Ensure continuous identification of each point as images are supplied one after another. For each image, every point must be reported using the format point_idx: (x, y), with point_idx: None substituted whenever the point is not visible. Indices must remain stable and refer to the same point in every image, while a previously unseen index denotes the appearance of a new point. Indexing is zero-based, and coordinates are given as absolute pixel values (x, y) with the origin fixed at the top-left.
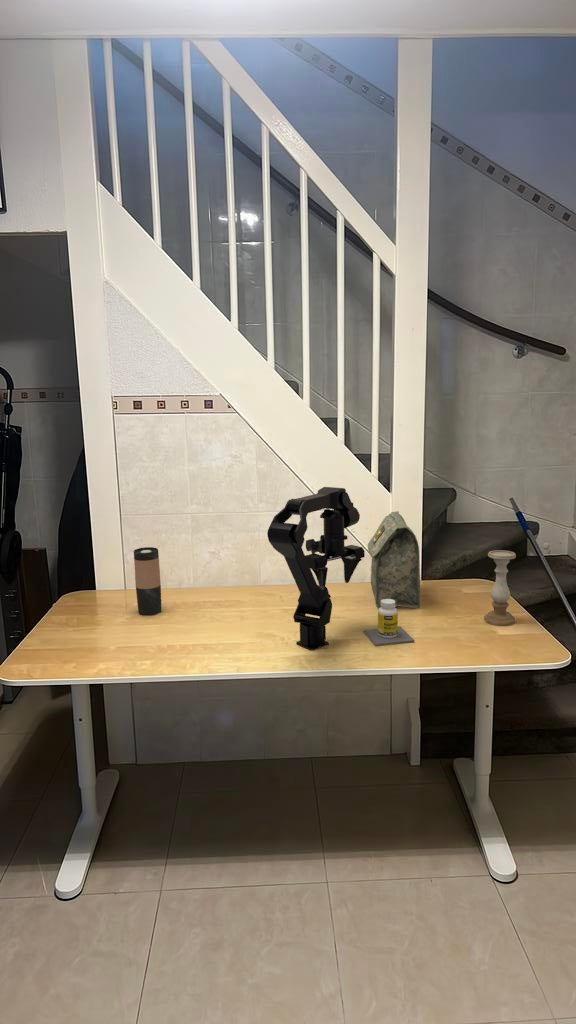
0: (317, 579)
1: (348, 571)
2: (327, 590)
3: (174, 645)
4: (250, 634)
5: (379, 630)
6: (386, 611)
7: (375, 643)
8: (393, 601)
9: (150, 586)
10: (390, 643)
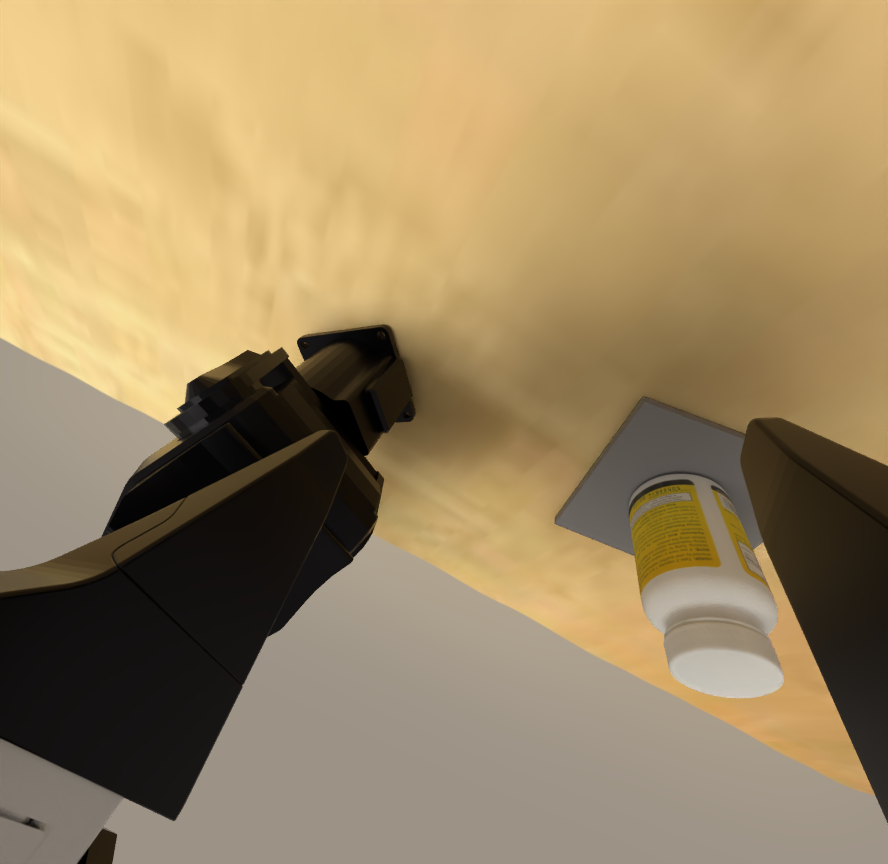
0: (211, 492)
1: (850, 650)
2: (288, 616)
3: None
4: (98, 63)
5: (632, 516)
6: (661, 630)
7: (558, 521)
8: (743, 692)
9: None
10: (610, 543)
